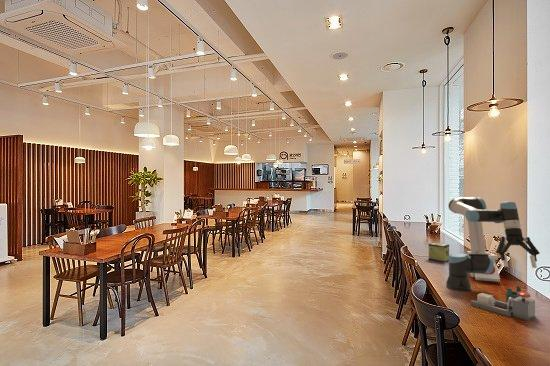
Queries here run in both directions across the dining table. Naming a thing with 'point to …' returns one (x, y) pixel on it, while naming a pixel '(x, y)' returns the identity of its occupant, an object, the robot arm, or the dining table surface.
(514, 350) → the dining table surface
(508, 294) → the green irregular piece
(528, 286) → the dining table surface
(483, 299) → the cube with cylindrical stub
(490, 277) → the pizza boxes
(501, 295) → the dining table surface
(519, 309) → the button station
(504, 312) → the guide rails
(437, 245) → the protein box
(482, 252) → the robot arm
